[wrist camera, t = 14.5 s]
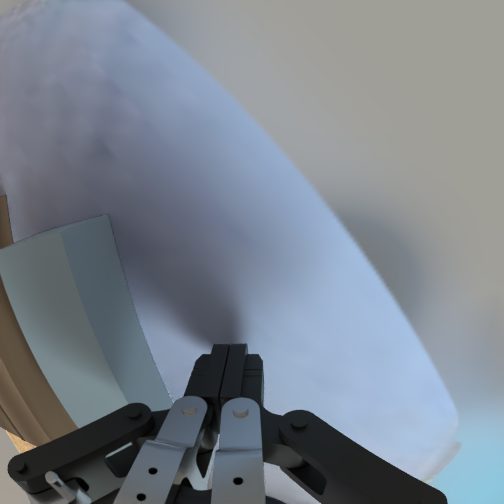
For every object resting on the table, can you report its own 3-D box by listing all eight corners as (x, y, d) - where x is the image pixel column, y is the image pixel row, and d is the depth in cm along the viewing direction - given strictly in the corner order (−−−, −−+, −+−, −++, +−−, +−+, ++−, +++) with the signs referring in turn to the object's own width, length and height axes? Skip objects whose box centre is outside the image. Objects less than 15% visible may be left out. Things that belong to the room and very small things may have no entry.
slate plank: (111, 212, 12) (60, 231, 9) (186, 425, 16) (172, 472, 12) (43, 231, 13) (-7, 252, 9) (123, 420, 17) (103, 460, 13)
